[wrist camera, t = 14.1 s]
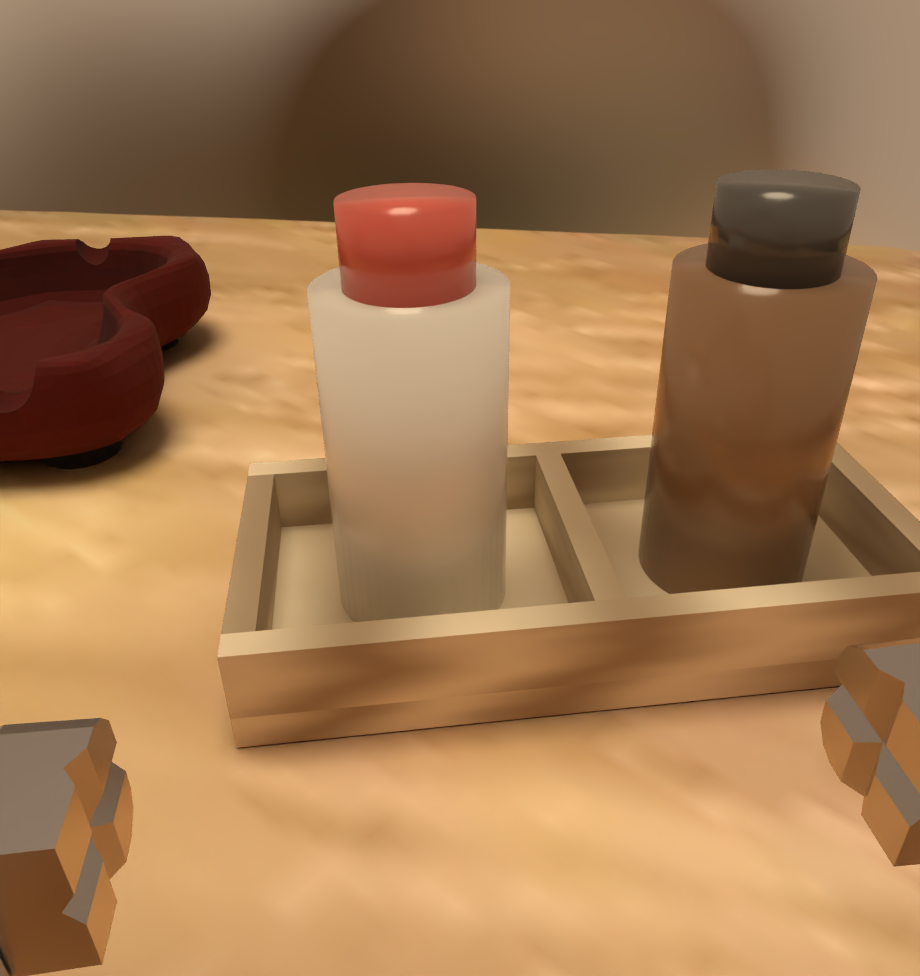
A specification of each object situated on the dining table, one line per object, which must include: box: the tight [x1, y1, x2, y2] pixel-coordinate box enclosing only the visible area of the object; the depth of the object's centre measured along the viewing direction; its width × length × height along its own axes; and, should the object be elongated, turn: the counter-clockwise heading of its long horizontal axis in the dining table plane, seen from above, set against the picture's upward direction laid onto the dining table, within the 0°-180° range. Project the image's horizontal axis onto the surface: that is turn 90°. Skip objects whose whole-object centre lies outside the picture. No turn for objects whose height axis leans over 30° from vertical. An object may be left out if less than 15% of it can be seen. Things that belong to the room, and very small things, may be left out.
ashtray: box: [0, 236, 211, 469], centre depth 38 cm, size 18×16×5 cm
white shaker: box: [307, 183, 510, 622], centre depth 22 cm, size 5×5×11 cm
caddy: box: [217, 435, 920, 748], centre depth 25 cm, size 19×9×3 cm, turn 97°
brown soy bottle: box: [638, 170, 877, 594], centre depth 23 cm, size 5×5×11 cm
